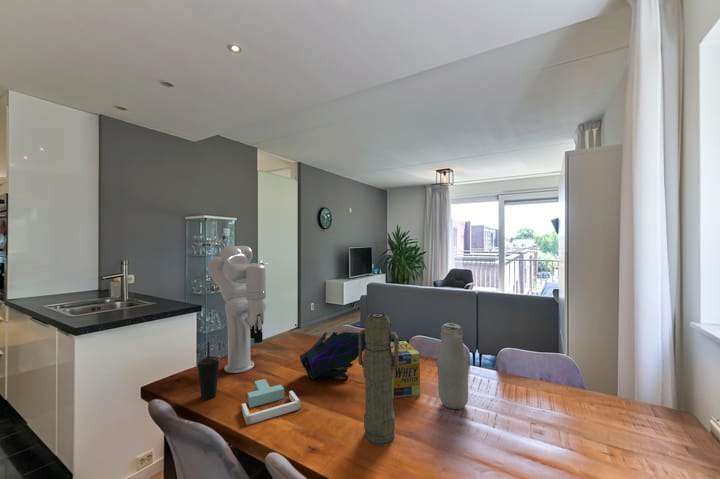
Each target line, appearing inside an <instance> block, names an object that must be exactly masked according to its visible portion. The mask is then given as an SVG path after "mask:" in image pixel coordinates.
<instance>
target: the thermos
mask: <svg viewBox="0 0 720 479" xmlns="http://www.w3.org/2000/svg"><path fill="white" fill-rule="evenodd" d="M358 333H359V334H358V349H359V356H358V364H359V366H361V367H362V368H363V369H362V370H363V377H364V385H365V386H364V389H365V390H364V391H365V392H364V395H365V412H364V415H363V428H364V439H365V440H366V441H367V443H369V444H370V445H374V446H379V447H380V446H387V445H390V444H391V443H392V442H393V441H395V430H396V429H395V428H396V419H395V418H396V415H395V410H394V407H393V406H394V404H393V403H394V402H393V401H394V399H393V392H392V378H393V376H394V370H395V369H396V368H397V367H398V365H399V362H398V350H399V341H400V339H399V338H400V337H399V335H398V334H397V333H396V331H392V325H391V321H390V318H389V316H388V315H387V314H386V313H382V312H372V313H370V314H368V315H367V317H366V320H365V323H364V328H362V329H361V330H360V331H359V332H358ZM362 333H363V334H365V343H366V346H365V349H364V353H363V351H362ZM392 338H393V342H394V357H393V354H392V351H391V342H392ZM394 358H395V364H394Z"/></svg>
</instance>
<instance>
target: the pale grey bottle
mask: <svg viewBox="0 0 720 479" xmlns="http://www.w3.org/2000/svg"><path fill="white" fill-rule="evenodd" d="M440 327H441V328H440V345H439V349H438V353H437V361H436V362H437V363H436V364H437V380H438V381H437V382H438V384H437V385H438V386H437V387H438V388H437V389H438V396H439V400H440V402H441V403H442V405H444V406H445V407H447V408H449V409H454V410H459V409H463V408H464V407H465V406H466V405H467V403H468V402H469V364H468V362H469V360H468V356H467V351H466V349H465V346H464V340H463V336H464V333H463V328H462V326H460V324H457V323H454V322H445V323H444V324H443V325H441V326H440Z"/></svg>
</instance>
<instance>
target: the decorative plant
mask: <svg viewBox="0 0 720 479" xmlns="http://www.w3.org/2000/svg"><path fill="white" fill-rule="evenodd" d="M359 333H360V332H347V331H344V332H341V333H339V332H338V331H333V332H332V334H331V335H330V336H329V337H328V338H327V339H326V336H327V332H324V333H323V335H322V336H321V337H320V338H319V339H318V340H317V341H316V343H314V344H313V345H312V347H310V348H309V349H308V350H307V351H305V352H304V353H302V354H300V355H299V360H300V363H301V365H302V367H303V368H304V370H305V372H306V374H307V377H308V378H311V380H315V379H317V378H320V377H323V376H324V377H325V376H329V377H337V378H338V377H339V378H345V379H347V380H348V379H349V377H350V374H348V375H347V374H346V373H345V372H344V371H346V372H347V370H349V369H350V368H352V367H353V366H354V363H352V362H354V361H355V360H356V359H357V358H359V349H358V334H359ZM365 346H366V343H365V334H363V333H362V352H364V351H365Z"/></svg>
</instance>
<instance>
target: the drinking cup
mask: <svg viewBox="0 0 720 479" xmlns="http://www.w3.org/2000/svg"><path fill="white" fill-rule="evenodd" d="M206 345H207V346H206V347H207V350H206V351H207V352H206V353H207V354H206V356H202V357H201V358H199V359H197V361H196V364H197V370H198V379H199V389H200V398H201V400H204V401H208V400H209V401H210V400H212V399H214V398H215V397H217V388H218V387H217V386H218V377H219V376H218V375H219V364H220V359H221V357H219V356H218V355H211V354H210V342H209V341H207V342H206Z"/></svg>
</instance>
